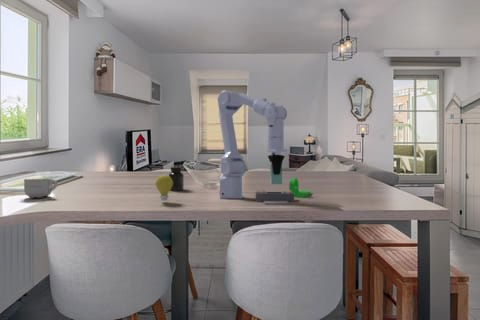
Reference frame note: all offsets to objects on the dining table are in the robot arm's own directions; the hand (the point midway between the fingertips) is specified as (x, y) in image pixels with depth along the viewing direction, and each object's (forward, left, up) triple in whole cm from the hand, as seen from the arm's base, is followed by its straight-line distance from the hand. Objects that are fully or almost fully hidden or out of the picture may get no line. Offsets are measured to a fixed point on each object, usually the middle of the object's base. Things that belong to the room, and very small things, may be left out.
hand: (276, 174), depth 147 cm
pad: (0, -2, -11) cm, 11 cm away
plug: (0, 0, -4) cm, 4 cm away
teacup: (-97, +19, -11) cm, 99 cm away
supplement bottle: (-43, +37, -11) cm, 58 cm away
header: (0, +7, -11) cm, 12 cm away
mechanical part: (+13, +23, -11) cm, 28 cm away
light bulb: (-43, +8, -11) cm, 45 cm away
